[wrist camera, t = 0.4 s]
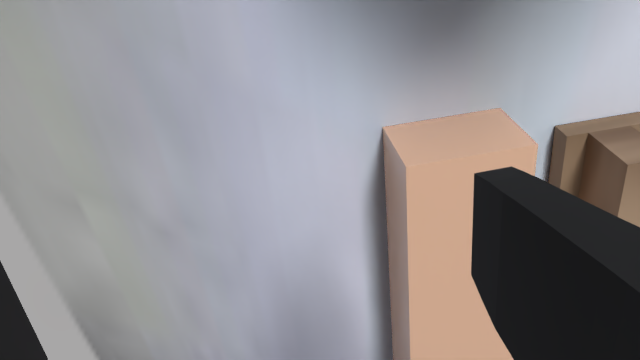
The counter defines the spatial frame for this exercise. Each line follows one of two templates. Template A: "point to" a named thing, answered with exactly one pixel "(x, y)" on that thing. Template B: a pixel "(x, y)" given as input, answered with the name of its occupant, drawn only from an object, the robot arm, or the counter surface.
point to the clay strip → (443, 230)
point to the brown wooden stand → (600, 163)
